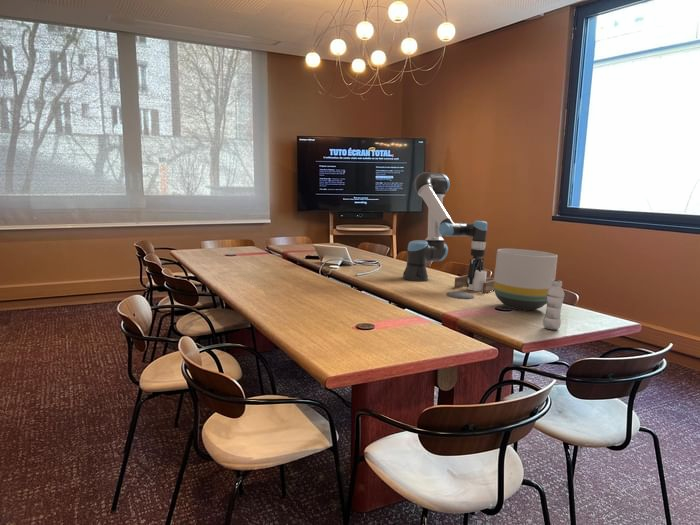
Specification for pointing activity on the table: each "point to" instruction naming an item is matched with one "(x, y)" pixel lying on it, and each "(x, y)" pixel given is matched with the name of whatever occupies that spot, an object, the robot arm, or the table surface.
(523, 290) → the planter
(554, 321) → the plastic bottle
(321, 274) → the table surface
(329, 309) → the table surface
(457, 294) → the coaster
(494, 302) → the table surface
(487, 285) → the dock
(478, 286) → the mug
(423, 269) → the robot arm
